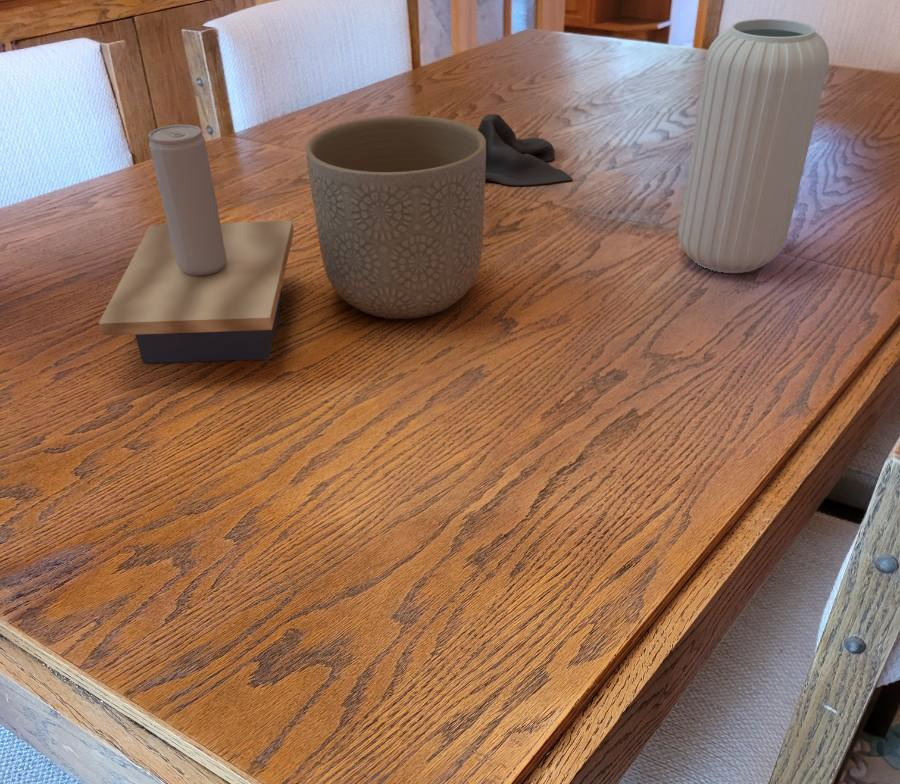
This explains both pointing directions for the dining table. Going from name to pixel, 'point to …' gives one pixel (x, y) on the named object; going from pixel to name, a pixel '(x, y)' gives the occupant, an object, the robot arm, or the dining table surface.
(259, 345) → the crate
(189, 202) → the beverage can
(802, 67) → the vase
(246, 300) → the board
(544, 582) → the dining table surface
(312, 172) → the planter
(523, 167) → the cloth
